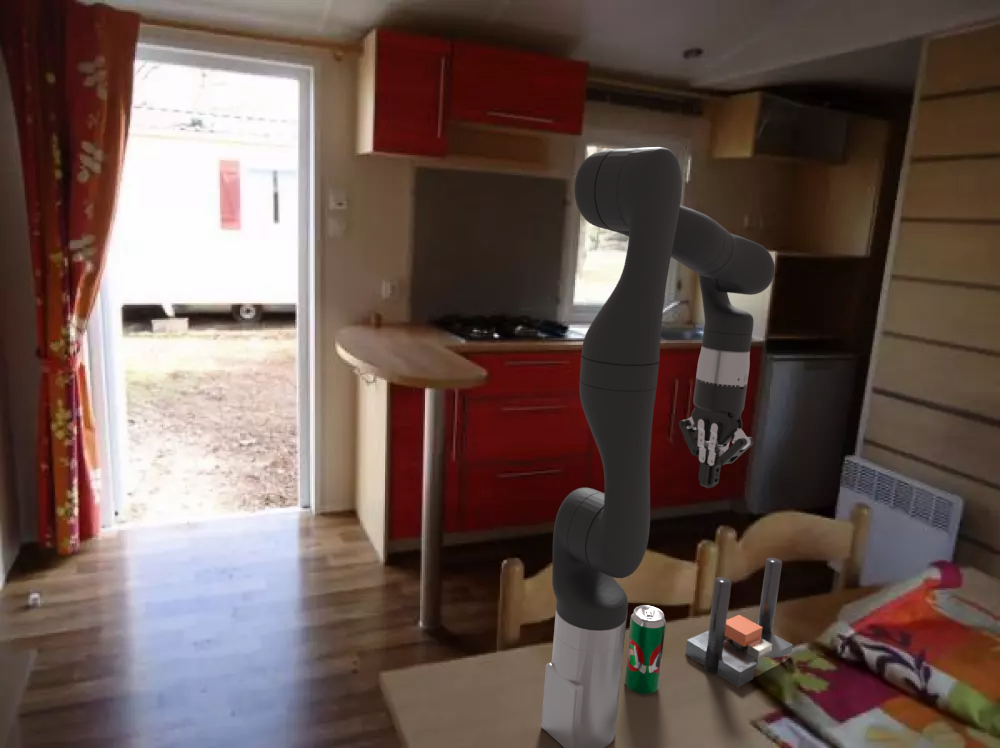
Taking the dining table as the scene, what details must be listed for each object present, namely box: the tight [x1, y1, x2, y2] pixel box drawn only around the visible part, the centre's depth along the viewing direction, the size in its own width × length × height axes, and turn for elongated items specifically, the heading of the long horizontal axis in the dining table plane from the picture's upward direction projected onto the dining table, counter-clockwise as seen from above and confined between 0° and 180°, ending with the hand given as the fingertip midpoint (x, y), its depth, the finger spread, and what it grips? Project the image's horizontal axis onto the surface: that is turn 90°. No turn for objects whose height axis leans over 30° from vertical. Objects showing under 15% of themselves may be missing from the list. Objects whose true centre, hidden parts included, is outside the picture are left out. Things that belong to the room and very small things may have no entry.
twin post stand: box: [685, 557, 794, 688], centre depth 114 cm, size 16×10×15 cm, turn 126°
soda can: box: [624, 604, 667, 696], centre depth 105 cm, size 5×5×12 cm
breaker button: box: [725, 614, 763, 650], centre depth 115 cm, size 4×4×4 cm
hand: (707, 486), depth 112 cm, fingers closed
